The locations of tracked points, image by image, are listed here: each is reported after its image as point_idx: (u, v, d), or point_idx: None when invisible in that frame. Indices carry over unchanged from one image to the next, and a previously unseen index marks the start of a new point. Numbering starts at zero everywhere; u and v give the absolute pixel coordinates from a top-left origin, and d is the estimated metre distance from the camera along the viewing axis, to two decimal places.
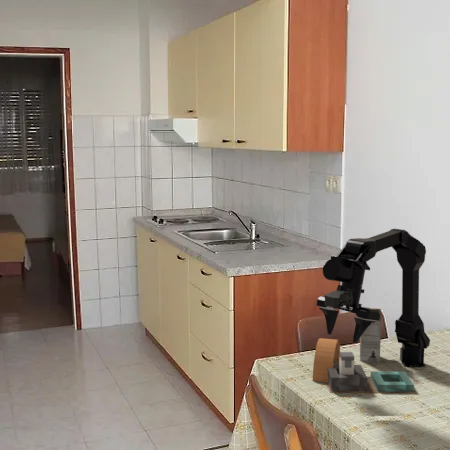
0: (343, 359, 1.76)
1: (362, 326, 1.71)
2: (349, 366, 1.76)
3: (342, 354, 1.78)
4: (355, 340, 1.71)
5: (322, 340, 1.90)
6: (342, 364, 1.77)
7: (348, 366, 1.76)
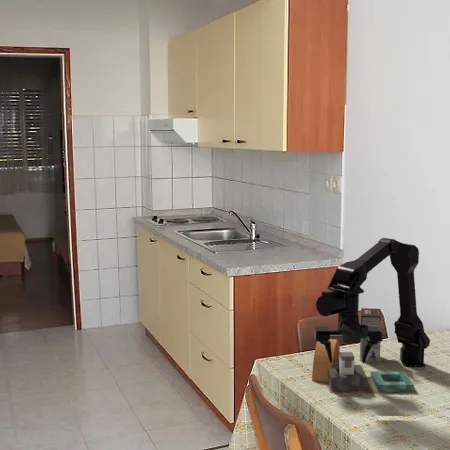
0: (343, 359, 1.76)
1: None
2: (349, 366, 1.76)
3: (342, 354, 1.78)
4: None
5: None
6: (342, 364, 1.77)
7: (348, 366, 1.76)
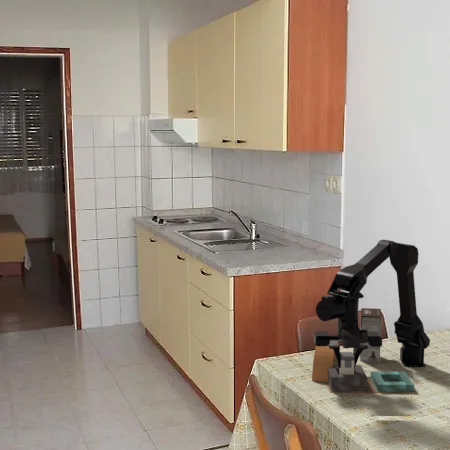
0: (343, 359, 1.76)
1: None
2: (349, 366, 1.76)
3: (342, 354, 1.78)
4: None
5: None
6: (342, 364, 1.77)
7: (348, 366, 1.76)
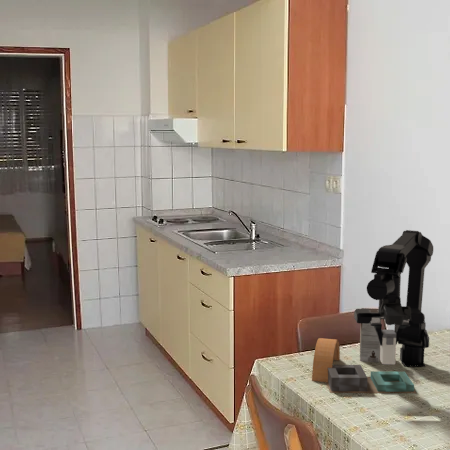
0: (385, 336, 1.75)
1: None
2: (391, 343, 1.75)
3: (383, 331, 1.77)
4: None
5: (321, 340, 1.90)
6: (384, 341, 1.76)
7: (390, 343, 1.75)
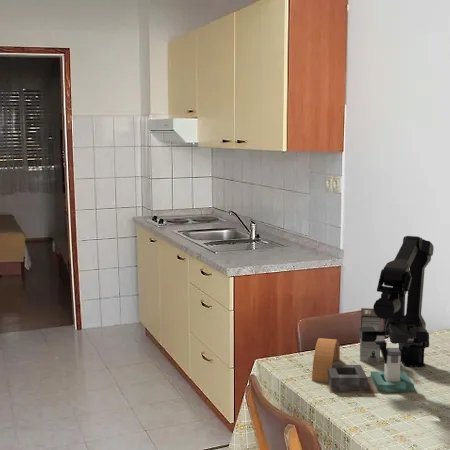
0: (389, 354, 1.76)
1: None
2: (396, 361, 1.75)
3: (388, 349, 1.77)
4: None
5: (321, 340, 1.90)
6: (388, 359, 1.76)
7: (395, 361, 1.75)
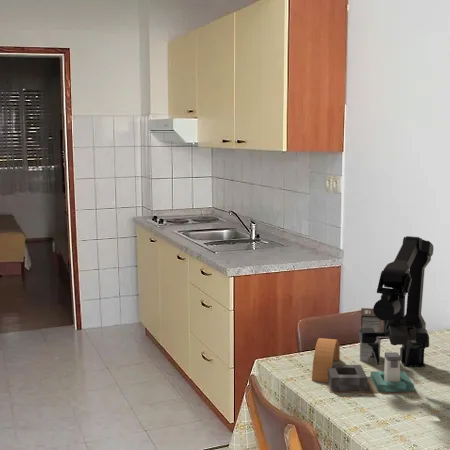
0: (389, 359, 1.76)
1: None
2: (395, 366, 1.76)
3: (388, 354, 1.77)
4: None
5: (321, 340, 1.90)
6: (388, 364, 1.76)
7: (394, 366, 1.76)
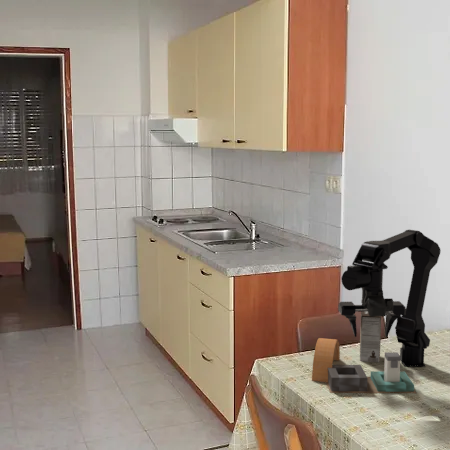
0: (389, 359, 1.76)
1: None
2: (395, 366, 1.76)
3: (388, 354, 1.77)
4: None
5: (321, 340, 1.90)
6: (388, 364, 1.76)
7: (394, 366, 1.76)
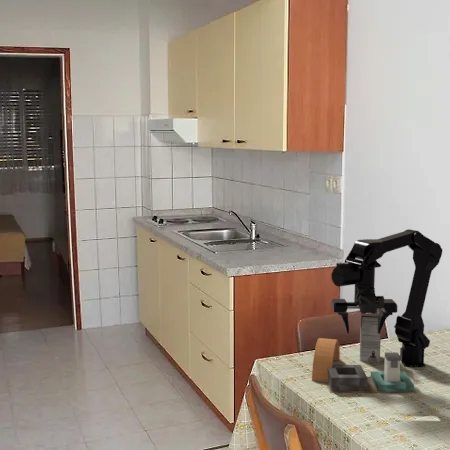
0: (389, 359, 1.76)
1: None
2: (395, 366, 1.76)
3: (388, 354, 1.77)
4: None
5: (321, 340, 1.90)
6: (388, 364, 1.76)
7: (394, 366, 1.76)
